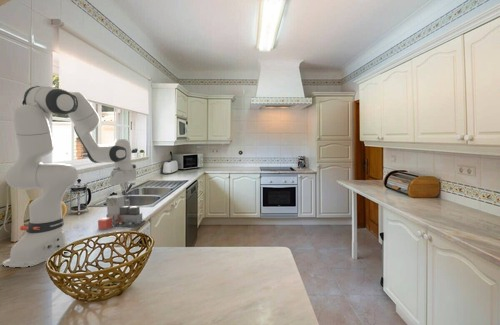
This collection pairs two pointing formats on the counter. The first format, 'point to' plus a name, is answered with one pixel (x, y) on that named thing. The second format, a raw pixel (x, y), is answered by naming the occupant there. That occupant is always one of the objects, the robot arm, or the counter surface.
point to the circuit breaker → (115, 206)
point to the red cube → (104, 223)
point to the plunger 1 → (124, 210)
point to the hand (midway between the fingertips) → (124, 190)
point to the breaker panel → (129, 220)
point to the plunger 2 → (134, 210)
